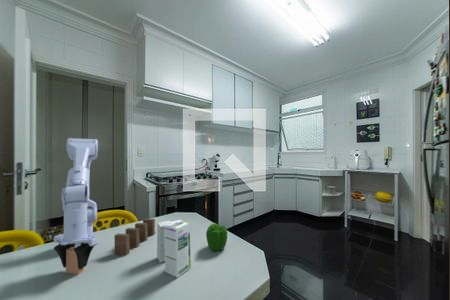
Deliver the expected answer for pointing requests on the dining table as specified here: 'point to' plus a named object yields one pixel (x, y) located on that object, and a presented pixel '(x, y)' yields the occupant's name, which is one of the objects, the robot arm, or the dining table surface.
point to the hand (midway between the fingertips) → (75, 266)
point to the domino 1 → (72, 262)
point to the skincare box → (161, 240)
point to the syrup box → (177, 247)
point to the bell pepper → (216, 237)
